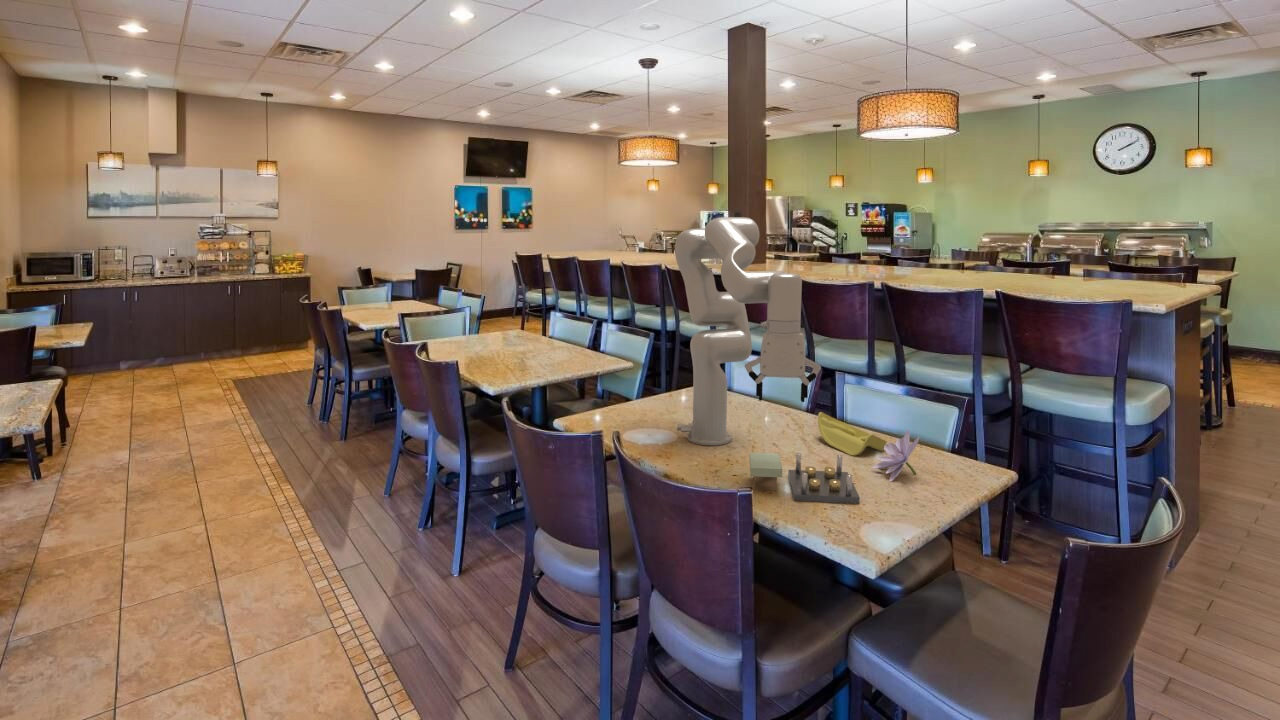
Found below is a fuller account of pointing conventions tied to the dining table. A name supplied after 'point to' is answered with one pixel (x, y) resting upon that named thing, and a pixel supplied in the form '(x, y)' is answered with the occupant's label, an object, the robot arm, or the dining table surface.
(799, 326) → the robot arm
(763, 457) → the board
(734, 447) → the dining table surface
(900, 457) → the water lily
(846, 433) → the plastic component
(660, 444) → the dining table surface
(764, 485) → the block
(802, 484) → the chassis
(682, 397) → the dining table surface
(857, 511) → the dining table surface
